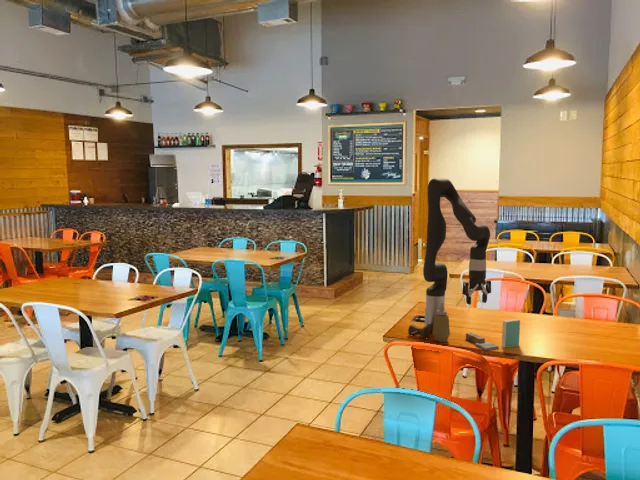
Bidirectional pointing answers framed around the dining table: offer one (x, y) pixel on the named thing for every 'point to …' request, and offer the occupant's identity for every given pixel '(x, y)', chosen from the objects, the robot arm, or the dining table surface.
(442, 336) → the squeeze bottle
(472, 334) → the dark piece
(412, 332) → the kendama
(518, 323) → the ceramic tile
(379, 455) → the dining table surface
